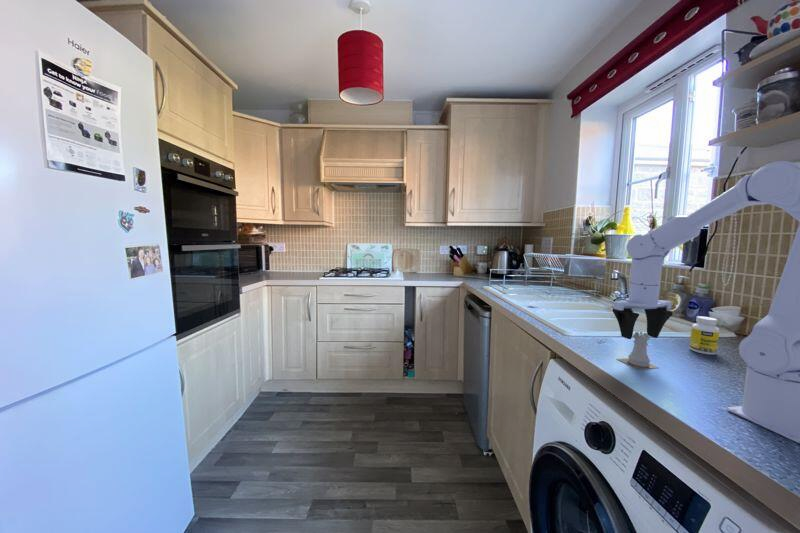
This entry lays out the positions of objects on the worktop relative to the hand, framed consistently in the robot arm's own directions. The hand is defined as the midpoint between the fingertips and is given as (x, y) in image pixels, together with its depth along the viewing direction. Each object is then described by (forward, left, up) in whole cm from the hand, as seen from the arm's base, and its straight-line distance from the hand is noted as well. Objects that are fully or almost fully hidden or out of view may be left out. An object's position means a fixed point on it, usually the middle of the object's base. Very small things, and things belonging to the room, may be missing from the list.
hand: (639, 337), depth 73 cm
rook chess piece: (-1, 0, -7) cm, 7 cm away
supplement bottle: (+5, -27, -7) cm, 28 cm away
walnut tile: (0, 0, -7) cm, 7 cm away
